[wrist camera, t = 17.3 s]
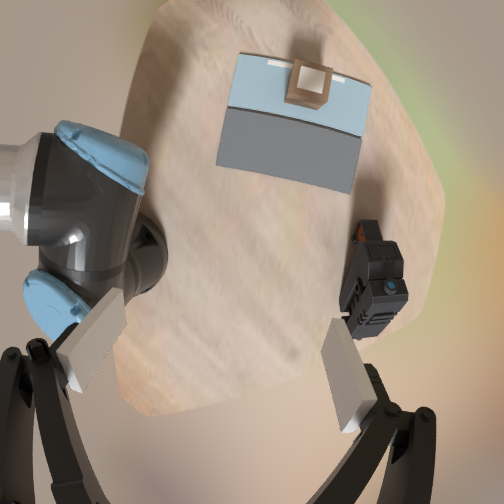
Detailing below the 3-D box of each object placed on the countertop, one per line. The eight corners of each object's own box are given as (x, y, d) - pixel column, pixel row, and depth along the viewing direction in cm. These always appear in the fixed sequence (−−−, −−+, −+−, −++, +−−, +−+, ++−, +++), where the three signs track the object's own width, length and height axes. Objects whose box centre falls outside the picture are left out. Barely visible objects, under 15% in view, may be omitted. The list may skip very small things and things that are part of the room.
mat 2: (216, 165, 40) (215, 165, 39) (227, 109, 36) (226, 108, 36) (348, 193, 40) (349, 194, 40) (360, 139, 37) (362, 139, 36)
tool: (385, 210, 38) (418, 293, 28) (357, 281, 53) (371, 349, 43) (349, 210, 38) (376, 297, 29) (329, 282, 53) (340, 353, 43)
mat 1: (228, 106, 36) (227, 105, 36) (239, 55, 33) (239, 53, 33) (361, 137, 37) (362, 136, 36) (369, 87, 34) (371, 86, 33)
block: (284, 102, 35) (288, 91, 29) (290, 73, 34) (295, 58, 27) (316, 110, 35) (327, 101, 29) (322, 81, 34) (333, 68, 27)
